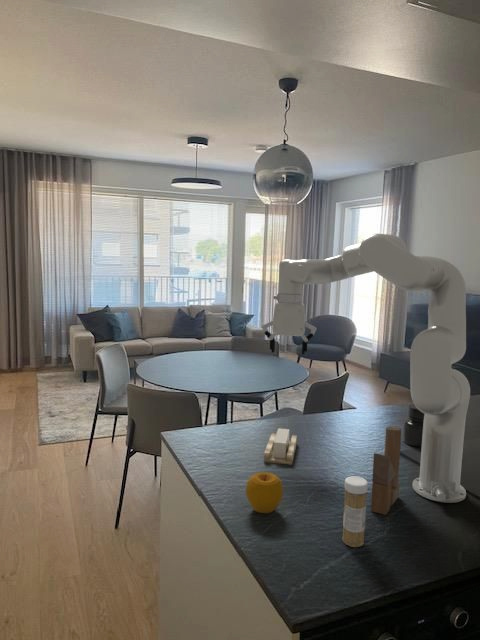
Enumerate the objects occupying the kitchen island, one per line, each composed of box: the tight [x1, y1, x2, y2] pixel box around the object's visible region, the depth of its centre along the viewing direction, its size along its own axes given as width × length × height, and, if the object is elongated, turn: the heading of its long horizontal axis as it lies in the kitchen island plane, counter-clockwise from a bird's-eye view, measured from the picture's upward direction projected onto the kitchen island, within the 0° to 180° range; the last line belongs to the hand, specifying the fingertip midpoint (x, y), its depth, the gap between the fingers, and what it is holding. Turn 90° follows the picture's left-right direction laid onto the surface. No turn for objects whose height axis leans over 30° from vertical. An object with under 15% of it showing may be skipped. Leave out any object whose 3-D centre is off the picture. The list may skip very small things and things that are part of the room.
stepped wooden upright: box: [370, 425, 402, 516], centre depth 115 cm, size 4×11×18 cm, turn 147°
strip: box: [273, 427, 290, 458], centre depth 146 cm, size 12×4×4 cm, turn 169°
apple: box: [245, 471, 284, 514], centre depth 111 cm, size 8×8×9 cm
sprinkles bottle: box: [341, 475, 369, 548], centre depth 99 cm, size 5×5×13 cm
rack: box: [263, 432, 298, 466], centre depth 146 cm, size 16×8×3 cm, turn 168°
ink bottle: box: [402, 403, 425, 448], centre depth 155 cm, size 10×9×12 cm
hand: (288, 352), depth 154 cm, fingers open, 9 cm apart
